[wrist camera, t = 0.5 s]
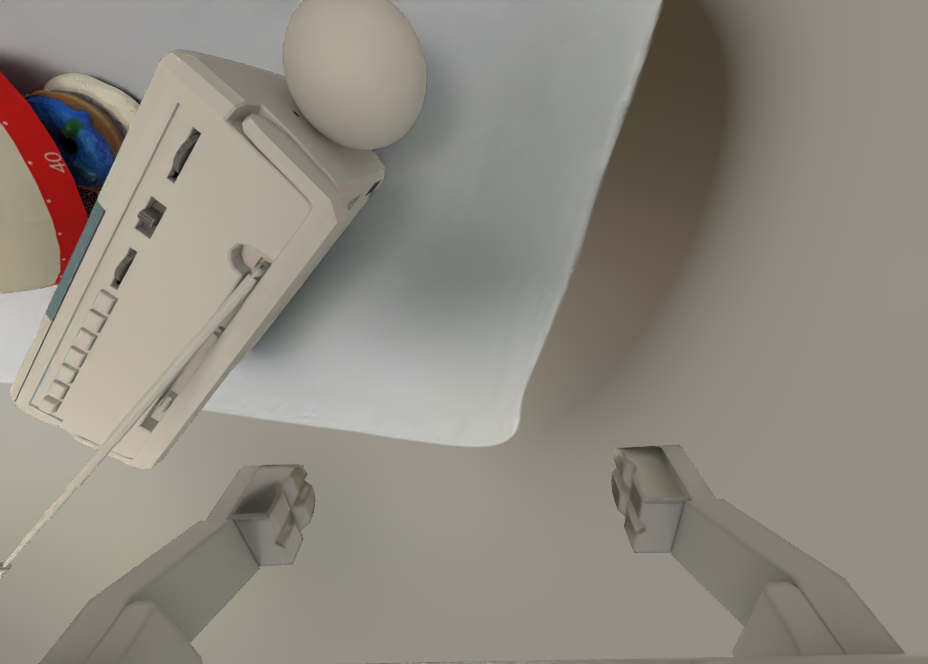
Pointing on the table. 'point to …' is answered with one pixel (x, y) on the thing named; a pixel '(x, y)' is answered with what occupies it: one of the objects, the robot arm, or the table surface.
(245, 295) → the radio
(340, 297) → the table surface
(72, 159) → the dessert
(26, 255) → the kitchen timer
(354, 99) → the lightbulb
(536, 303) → the table surface
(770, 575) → the robot arm
